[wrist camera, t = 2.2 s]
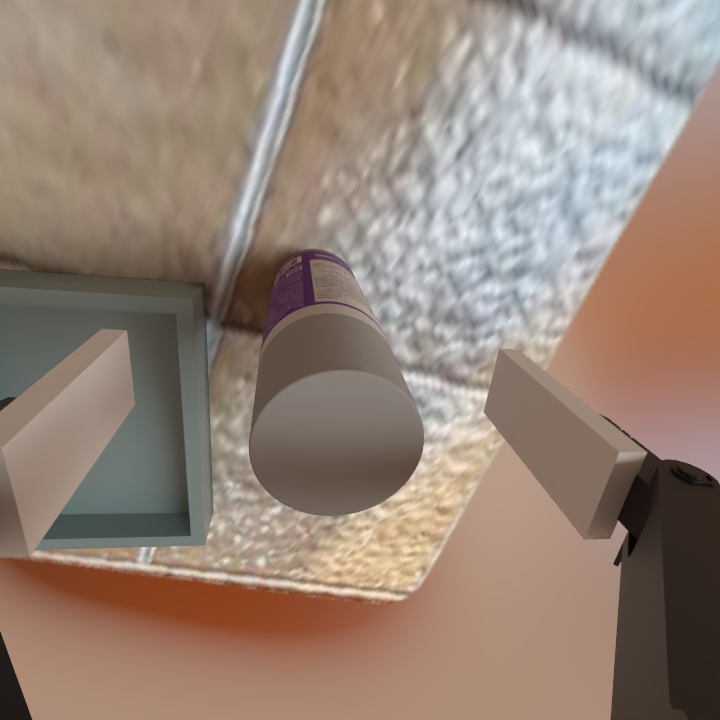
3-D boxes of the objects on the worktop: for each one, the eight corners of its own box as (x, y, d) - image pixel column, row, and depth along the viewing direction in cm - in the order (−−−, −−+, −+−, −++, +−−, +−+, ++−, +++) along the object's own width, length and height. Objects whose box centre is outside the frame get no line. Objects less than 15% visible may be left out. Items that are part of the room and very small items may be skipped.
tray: (-48, 266, 21) (-98, 280, 19) (204, 283, 23) (192, 298, 21) (19, 513, 28) (-11, 550, 25) (213, 510, 30) (204, 545, 27)
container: (288, 339, 25) (279, 540, 12) (261, 262, 23) (212, 398, 10) (365, 317, 25) (442, 491, 12) (344, 238, 23) (409, 341, 10)
